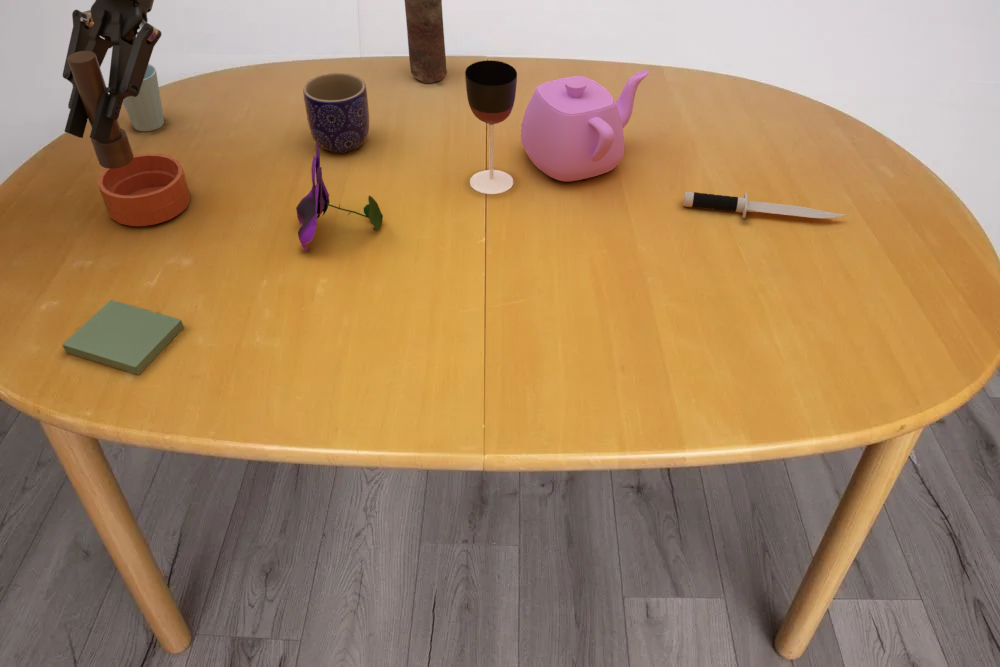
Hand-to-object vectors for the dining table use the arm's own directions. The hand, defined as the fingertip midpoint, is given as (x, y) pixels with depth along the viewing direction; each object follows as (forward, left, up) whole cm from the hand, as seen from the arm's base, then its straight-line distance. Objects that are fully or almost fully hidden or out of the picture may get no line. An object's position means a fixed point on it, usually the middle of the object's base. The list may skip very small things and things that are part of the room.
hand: (86, 137), depth 122 cm
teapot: (+57, +51, -20) cm, 79 cm away
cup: (-21, +34, -20) cm, 45 cm away
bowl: (-4, +12, -20) cm, 24 cm away
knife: (+90, +46, -20) cm, 103 cm away
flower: (+29, +17, -20) cm, 39 cm away
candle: (+19, +71, -20) cm, 76 cm away
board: (+13, -16, -20) cm, 29 cm away
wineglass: (+46, +39, -20) cm, 63 cm away
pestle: (0, +4, -6) cm, 7 cm away
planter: (+16, +41, -20) cm, 48 cm away
